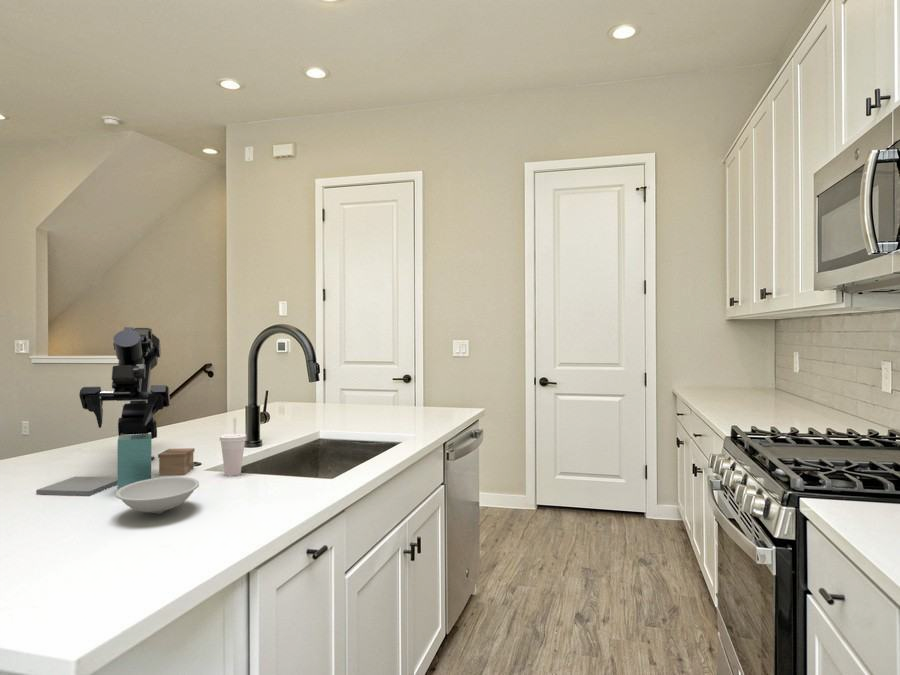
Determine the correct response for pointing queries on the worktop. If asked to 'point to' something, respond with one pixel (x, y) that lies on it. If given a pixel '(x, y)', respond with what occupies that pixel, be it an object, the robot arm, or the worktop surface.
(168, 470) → the walnut box
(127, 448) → the tall teal box
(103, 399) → the robot arm
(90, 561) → the worktop surface
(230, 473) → the smoothie
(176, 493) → the dish
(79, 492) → the plate
